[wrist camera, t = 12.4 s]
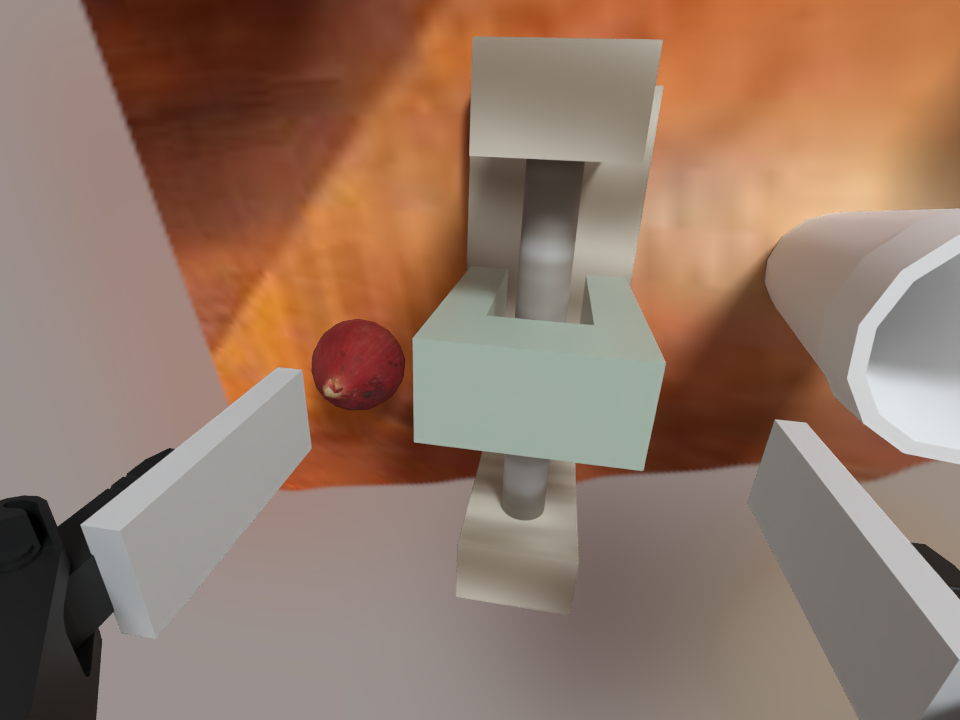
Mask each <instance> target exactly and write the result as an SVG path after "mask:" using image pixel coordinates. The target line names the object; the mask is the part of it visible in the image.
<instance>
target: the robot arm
mask: <svg viewBox="0 0 960 720" xmlns="http://www.w3.org/2000/svg"><path fill="white" fill-rule="evenodd" d="M311 449H312V447H311V439H310V431H309V422H308V414H307V406H306V397H305V389H304V381H303V373H302V370H298V369H289V368H279V367H278V368H276V369H275V370H274V371H273V372H271V373H270V374H269V375H268V376H266V377H265V378H264V379H263V380H261V381H260V382H259V383H258V384H256V385H255V386H254V387H252V388H251V389H250V390H249V391H247V392H246V393H245V394H244V395H242V396H241V397H240V398H239V399H237V400H236V401H235V402H234V403H232V404H231V405H230V406H229V407H227V408H226V409H225V410H224V411H222V412H221V413H220V414H219V415H218V416H216V417H215V418H214V419H213V420H211V421H210V422H209V423H208V424H206V425H205V426H204V427H202V428H201V429H200V430H199V431H197V432H196V433H195V434H194V435H193V436H191V437H190V438H189V439H188V440H186V441H185V442H184V443H182V444H181V445H180V446H179V447H177V448H176V449H171V448H169V449H167V450H164V451H162V452H160V453H158V454H156V455H154V456H152V457H150V458H148V459H146V460H144V461H143V462H142V463H140V464H139V465H138V466H136V467H135V468H134V469H132V470H131V471H130V472H129V473H127V476H126V477H122V478H121V479H119V480H118V481H117V482H115V484H113V485H112V486H111V489H107V490H105V491H104V492H102V493H101V494H100V495H98V496H97V497H96V498H95V499H93V500H92V501H91V502H89V503H88V504H87V505H85V506H84V507H83V508H82V509H80V510H79V511H78V512H76V513H75V514H74V515H72V516H71V517H70V518H68V519H67V520H66V521H65V522H63V523H62V524H61V525H59V526H58V527H57V525H56V522H55V520H54V517H53V515H52V512H51V510H50V507H49V505H48V503H47V500H44V499H43V498H41V497H38V496H18V497H12V498H7V499H3V500H1V501H0V720H96V713H97V700H98V686H99V674H100V662H101V660H100V659H101V648H102V638H101V634H100V631H99V629H98V627H99V626H100V625H101V624H102V623H103V622H104V621H105V620H106V619H107V618H108V617H109V616H110V615H111V614H112V613H114V615H115V618H116V621H117V623H118V626H119V629H120V631H121V633H124V634H129V635H135V636H140V637H147V638H151V639H157V638H158V637H159V636H160V634H161V633H162V632H163V631H164V629H165V628H166V627H167V626H168V625H169V623H170V622H171V621H172V619H173V618H174V617H175V616H176V615H177V614H178V612H179V611H180V610H181V609H182V607H183V606H184V605H185V604H186V602H187V601H188V600H189V599H190V598H191V596H192V595H193V594H194V593H195V591H196V590H197V589H198V588H199V586H200V585H201V584H202V583H203V581H204V580H205V579H206V578H207V577H208V575H209V574H210V573H211V572H212V570H213V569H214V568H215V567H216V565H217V564H218V563H219V562H220V560H221V559H222V558H223V557H224V556H225V554H226V553H227V552H228V551H229V550H230V548H231V547H232V546H233V545H234V543H235V542H236V541H237V540H238V538H239V537H240V536H241V535H242V534H243V532H244V531H245V530H246V529H247V527H248V526H249V525H250V524H251V522H252V521H253V520H254V519H255V517H256V516H257V515H258V514H259V513H260V511H261V510H262V509H263V508H264V506H265V505H266V504H267V503H268V501H269V500H270V499H271V498H272V497H273V495H274V494H275V493H276V492H277V490H278V489H279V488H280V487H281V485H282V484H283V483H284V482H285V481H286V479H287V478H288V477H289V476H290V474H291V473H292V472H293V471H294V469H295V468H296V467H297V466H298V465H299V463H300V462H301V461H302V460H303V458H304V457H305V456H306V455H307V453H308V452H309V451H310V450H311ZM747 503H748V505H749V507H750V508H751V511H752V513H753V515H754V516H755V518H756V520H757V522H758V524H759V526H760V528H761V530H762V532H763V534H764V536H765V538H766V540H767V542H768V543H769V546H770V548H771V549H772V551H773V553H774V555H775V557H776V559H777V561H778V563H779V565H780V567H781V569H782V571H783V573H784V575H785V577H786V579H787V581H788V582H789V584H790V586H791V588H792V590H793V592H794V594H795V596H796V598H797V600H798V602H799V604H800V606H801V608H802V609H803V611H804V614H805V616H806V617H807V619H808V621H809V623H810V625H811V627H812V629H813V631H814V633H815V635H816V637H817V639H818V641H819V643H820V644H821V646H822V649H823V650H824V652H825V654H826V656H827V658H828V660H829V662H830V664H831V666H832V668H833V670H834V672H835V674H836V676H837V677H838V680H839V682H840V683H841V685H842V687H843V689H844V691H845V693H846V695H847V697H848V699H849V701H850V703H851V705H852V707H853V709H854V711H855V712H856V715H857V717H858V718H859V720H960V571H959V570H958V569H957V568H956V566H954V565H953V564H952V563H950V562H949V561H947V560H946V559H945V558H943V557H942V556H941V555H939V554H938V553H936V552H935V551H934V550H932V549H931V548H930V547H928V546H927V545H925V544H918V543H911V542H909V541H908V539H907V538H906V537H905V536H904V535H903V534H902V533H901V531H900V530H899V529H898V528H897V527H896V526H895V524H894V523H893V522H892V521H891V520H890V519H889V518H888V516H887V515H886V514H885V513H884V512H883V511H882V509H881V508H880V507H879V506H878V505H877V504H876V503H875V501H874V500H873V499H872V498H871V497H870V496H869V495H868V493H867V492H866V491H865V490H864V489H863V488H862V486H861V485H860V484H859V483H858V482H857V481H856V480H855V478H854V477H853V476H852V475H851V474H850V473H849V472H848V470H847V469H846V468H845V467H844V466H843V465H842V463H841V462H840V461H839V460H838V459H837V458H836V457H835V455H834V454H833V453H832V452H831V451H830V450H829V449H828V447H827V446H826V445H825V444H824V443H823V442H822V440H821V439H820V438H819V437H818V436H817V435H816V434H815V432H814V431H813V430H812V429H811V428H810V427H809V426H808V424H807V423H804V422H795V421H785V420H776V419H775V421H774V424H773V427H772V430H771V433H770V436H769V439H768V442H767V445H766V448H765V451H764V454H763V457H762V460H761V463H760V466H759V469H758V472H757V475H756V478H755V481H754V484H753V488H752V490H751V493H750V496H749V500H748V502H747Z"/></svg>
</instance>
